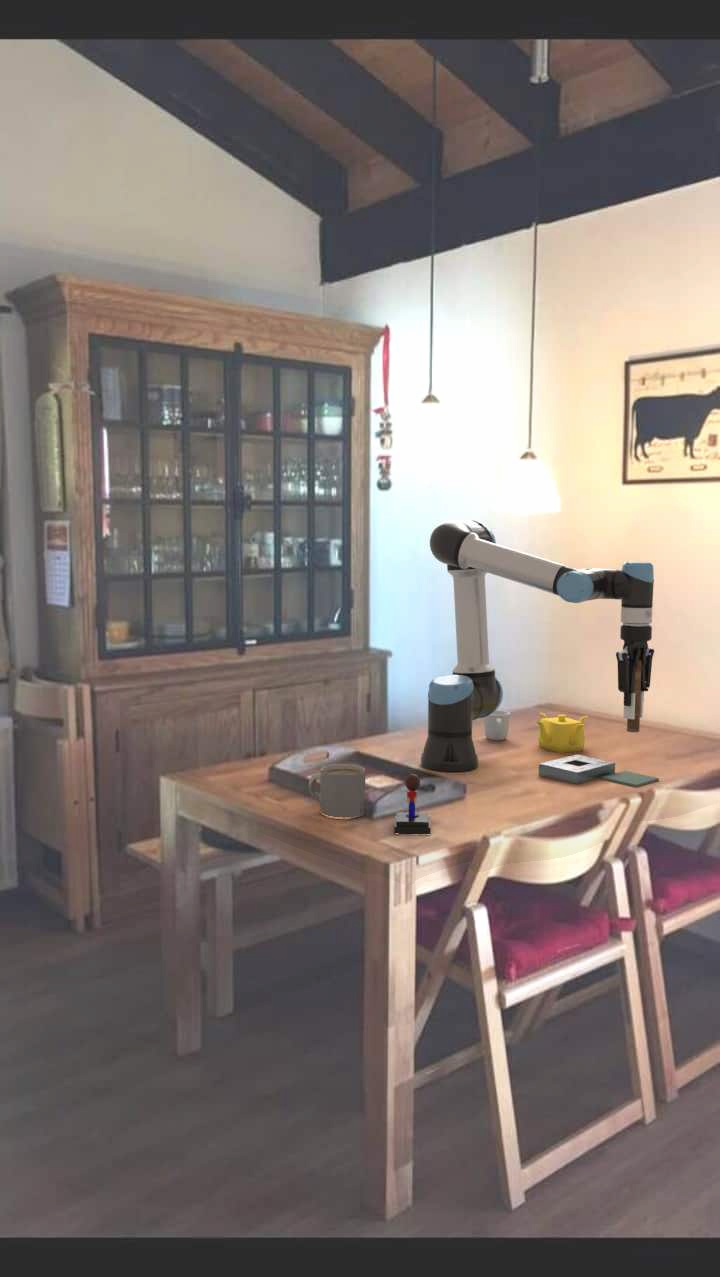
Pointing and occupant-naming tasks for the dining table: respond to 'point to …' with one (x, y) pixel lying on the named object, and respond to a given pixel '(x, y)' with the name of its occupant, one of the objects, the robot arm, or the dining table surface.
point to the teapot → (561, 733)
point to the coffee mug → (339, 789)
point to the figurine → (412, 812)
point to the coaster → (630, 778)
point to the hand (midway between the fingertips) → (633, 717)
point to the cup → (497, 725)
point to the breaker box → (576, 769)
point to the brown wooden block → (636, 701)
